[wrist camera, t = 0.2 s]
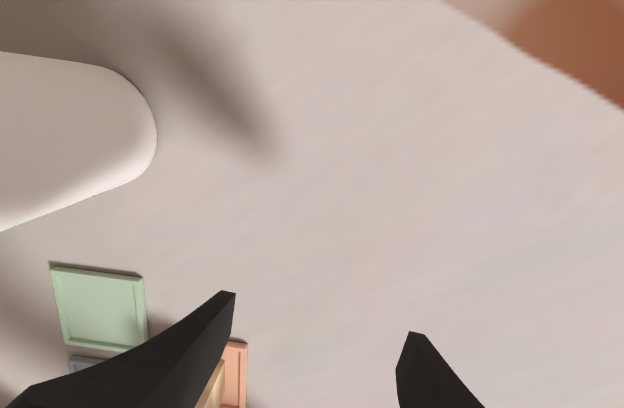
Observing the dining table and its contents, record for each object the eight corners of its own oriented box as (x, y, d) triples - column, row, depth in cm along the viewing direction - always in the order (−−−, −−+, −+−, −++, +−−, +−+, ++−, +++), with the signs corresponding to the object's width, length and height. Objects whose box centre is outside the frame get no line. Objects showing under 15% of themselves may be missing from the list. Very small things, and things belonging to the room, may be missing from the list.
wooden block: (224, 393, 27) (200, 454, 23) (184, 386, 28) (152, 446, 23) (224, 360, 26) (199, 417, 22) (182, 354, 26) (148, 409, 22)
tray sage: (149, 350, 27) (145, 355, 27) (70, 339, 27) (64, 344, 27) (142, 277, 25) (138, 281, 24) (56, 266, 25) (49, 270, 25)
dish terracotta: (245, 408, 28) (243, 414, 28) (167, 396, 29) (164, 402, 28) (247, 343, 26) (245, 349, 25) (162, 331, 26) (158, 336, 26)
